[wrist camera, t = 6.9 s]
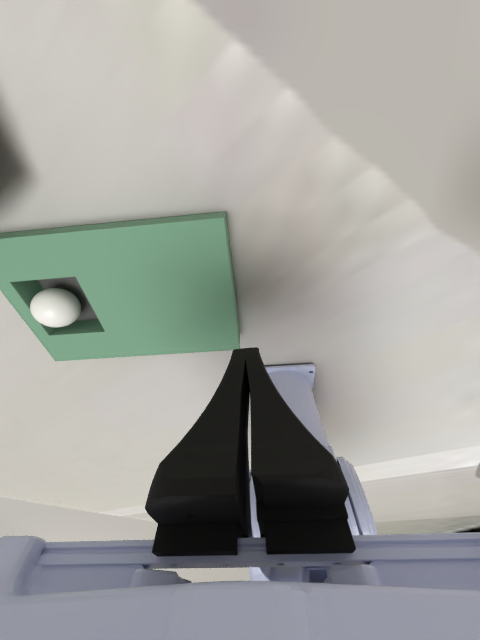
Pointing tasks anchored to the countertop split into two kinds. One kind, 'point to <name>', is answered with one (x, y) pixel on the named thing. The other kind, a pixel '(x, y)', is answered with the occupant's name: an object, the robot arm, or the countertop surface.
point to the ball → (55, 307)
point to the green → (128, 285)
